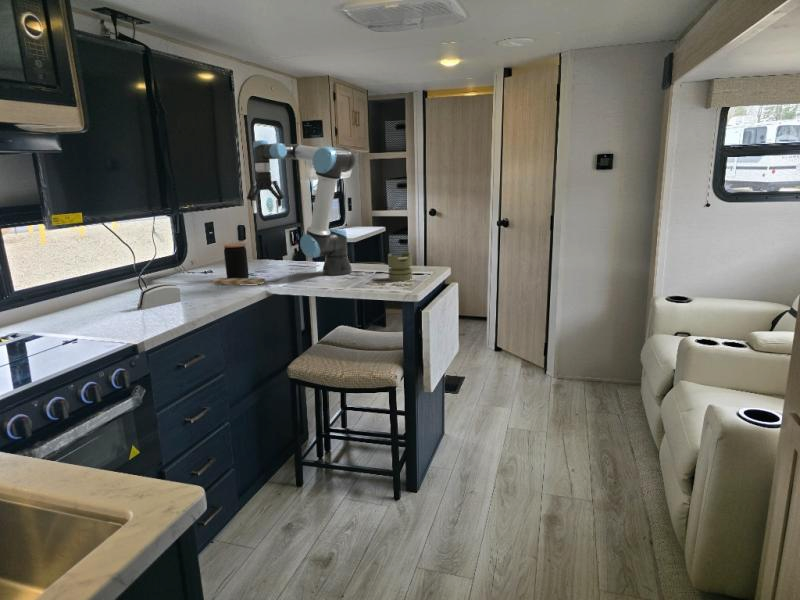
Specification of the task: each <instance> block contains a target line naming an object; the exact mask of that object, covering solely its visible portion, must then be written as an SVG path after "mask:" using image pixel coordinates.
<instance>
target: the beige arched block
mask: <svg viewBox="0 0 800 600" xmlns="http://www.w3.org/2000/svg"><path fill="white" fill-rule="evenodd" d="M180 302H182V298H181V288H180V287H179V286H178V285H177V284H175V283H159V284H154V285H151V286H148V287H146V288H144V289H142V290H141V291H140V295H139V301H138V303H137V309H141V310H147V309H154V308H157V307H162V306H166V305H171V304H175V303H180Z"/></svg>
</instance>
